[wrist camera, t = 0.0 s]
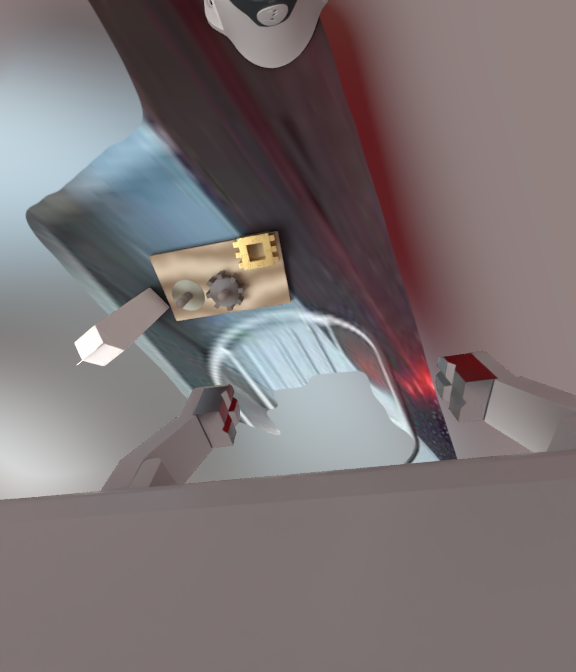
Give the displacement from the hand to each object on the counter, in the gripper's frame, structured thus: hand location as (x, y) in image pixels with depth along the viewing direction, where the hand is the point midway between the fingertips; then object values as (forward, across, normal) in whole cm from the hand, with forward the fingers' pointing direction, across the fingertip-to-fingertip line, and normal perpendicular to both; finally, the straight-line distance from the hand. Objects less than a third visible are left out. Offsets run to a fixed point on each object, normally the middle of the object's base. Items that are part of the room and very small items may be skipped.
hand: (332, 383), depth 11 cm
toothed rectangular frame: (+46, +10, +2) cm, 48 cm away
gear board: (+48, +18, +7) cm, 52 cm away
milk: (+48, +37, +10) cm, 62 cm away
